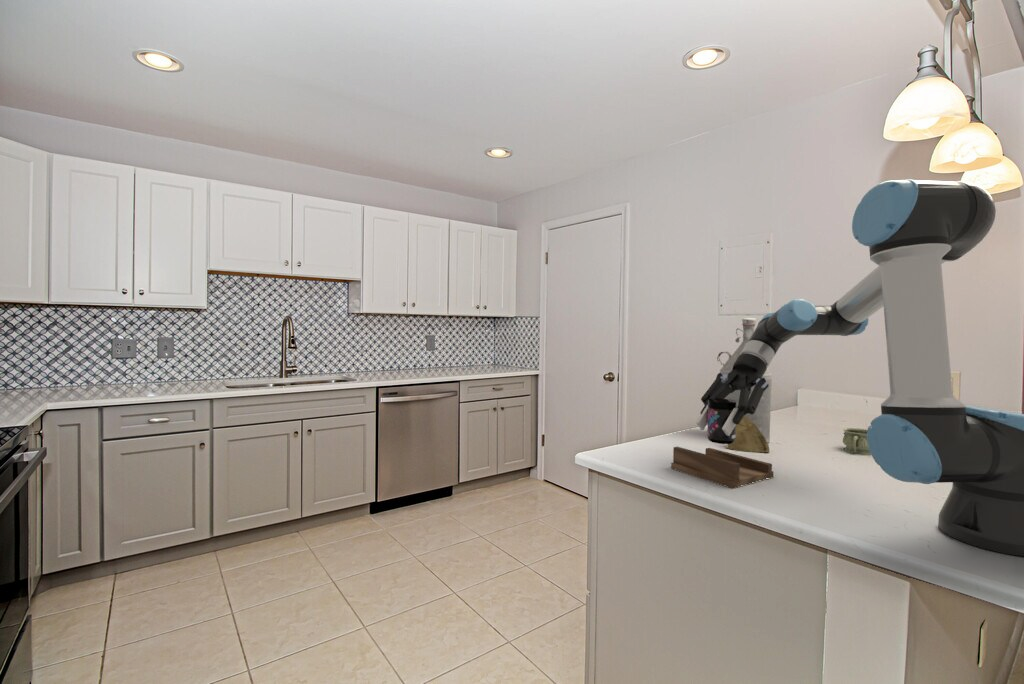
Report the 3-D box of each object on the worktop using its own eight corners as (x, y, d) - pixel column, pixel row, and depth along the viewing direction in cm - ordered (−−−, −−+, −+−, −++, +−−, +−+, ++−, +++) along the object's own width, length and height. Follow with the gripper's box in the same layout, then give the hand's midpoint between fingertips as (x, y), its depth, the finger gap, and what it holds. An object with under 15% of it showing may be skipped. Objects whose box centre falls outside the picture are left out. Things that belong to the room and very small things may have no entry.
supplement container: (711, 436, 131) (712, 397, 131) (738, 440, 127) (739, 400, 126) (703, 441, 126) (704, 400, 125) (731, 446, 122) (732, 403, 121)
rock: (779, 444, 147) (749, 432, 156) (772, 423, 144) (741, 413, 152) (757, 469, 144) (728, 456, 153) (750, 448, 140) (720, 436, 149)
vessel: (872, 458, 141) (872, 436, 140) (836, 452, 147) (836, 431, 147) (883, 451, 148) (884, 430, 148) (848, 445, 155) (849, 425, 155)
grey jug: (725, 431, 174) (728, 317, 172) (777, 440, 160) (781, 317, 159) (706, 436, 166) (709, 317, 164) (759, 447, 152) (763, 317, 151)
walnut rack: (710, 459, 138) (711, 440, 138) (773, 477, 123) (773, 455, 123) (671, 468, 130) (671, 447, 130) (733, 488, 114) (733, 465, 114)
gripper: (795, 374, 125) (755, 447, 118) (726, 367, 142) (686, 430, 134) (784, 354, 122) (742, 427, 114) (714, 349, 139) (673, 413, 131)
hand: (712, 429), depth 124 cm, fingers closed on supplement container, 7 cm apart
